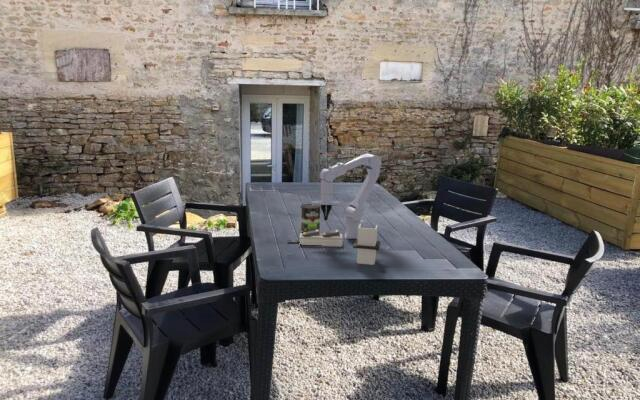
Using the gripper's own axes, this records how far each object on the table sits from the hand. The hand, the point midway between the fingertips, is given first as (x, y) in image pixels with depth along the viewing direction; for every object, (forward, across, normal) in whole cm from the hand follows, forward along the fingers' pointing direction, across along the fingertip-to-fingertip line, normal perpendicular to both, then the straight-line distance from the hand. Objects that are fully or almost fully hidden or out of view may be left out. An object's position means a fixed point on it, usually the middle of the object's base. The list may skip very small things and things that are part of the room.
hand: (325, 219), depth 235 cm
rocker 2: (+6, -3, +6) cm, 8 cm away
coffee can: (+11, +8, -14) cm, 19 cm away
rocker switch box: (+10, +5, +6) cm, 13 cm away
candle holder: (+11, -18, +31) cm, 37 cm away
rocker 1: (+6, +7, +6) cm, 11 cm away
